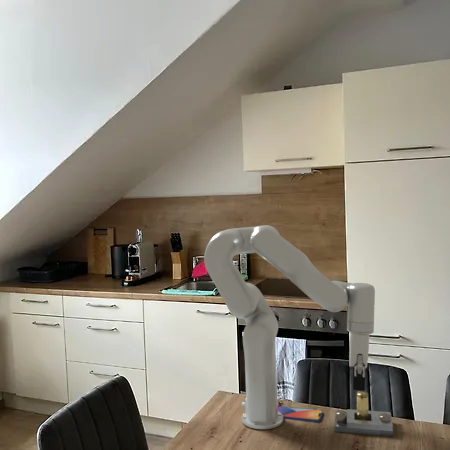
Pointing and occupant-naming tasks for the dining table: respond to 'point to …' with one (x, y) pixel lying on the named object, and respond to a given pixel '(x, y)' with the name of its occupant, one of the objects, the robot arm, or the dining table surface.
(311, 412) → the smartphone
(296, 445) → the dining table surface
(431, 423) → the dining table surface
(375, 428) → the grey block with knobs
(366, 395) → the pin
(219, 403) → the dining table surface
